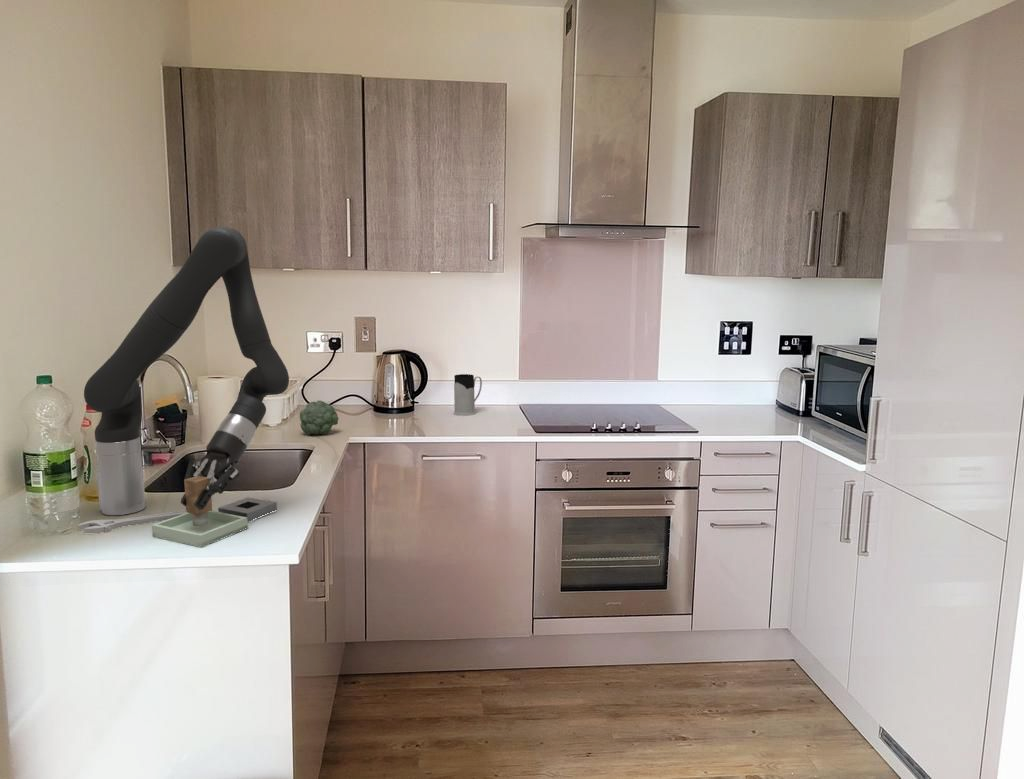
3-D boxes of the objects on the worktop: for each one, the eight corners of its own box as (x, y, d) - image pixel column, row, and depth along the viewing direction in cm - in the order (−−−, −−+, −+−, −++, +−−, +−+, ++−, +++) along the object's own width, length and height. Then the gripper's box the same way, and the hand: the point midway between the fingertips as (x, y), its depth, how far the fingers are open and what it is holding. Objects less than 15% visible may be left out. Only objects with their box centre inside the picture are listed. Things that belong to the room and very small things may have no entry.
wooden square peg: (187, 525, 162) (184, 479, 160) (201, 519, 165) (197, 475, 163) (199, 527, 160) (196, 481, 158) (213, 522, 163) (209, 477, 162)
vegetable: (348, 422, 267) (339, 411, 253) (323, 449, 264) (313, 439, 250) (324, 401, 270) (313, 389, 255) (299, 428, 267) (287, 417, 252)
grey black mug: (448, 413, 294) (448, 375, 292) (473, 408, 305) (473, 371, 302) (465, 416, 289) (464, 377, 286) (489, 411, 299) (489, 373, 297)
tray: (152, 536, 160) (151, 525, 160) (200, 518, 171) (199, 508, 171) (201, 547, 154) (200, 535, 153) (248, 528, 165) (247, 517, 164)
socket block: (218, 517, 173) (218, 507, 172) (248, 506, 180) (248, 497, 180) (247, 522, 169) (247, 513, 168) (277, 511, 176) (276, 502, 176)
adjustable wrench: (203, 513, 177) (202, 506, 177) (204, 522, 171) (204, 514, 171) (81, 528, 166) (80, 520, 166) (78, 537, 161) (77, 530, 160)
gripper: (199, 426, 169) (156, 493, 160) (245, 432, 163) (203, 502, 154) (219, 444, 174) (179, 510, 166) (265, 450, 168) (225, 519, 159)
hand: (191, 506), depth 160 cm, fingers closed on wooden square peg, 3 cm apart
